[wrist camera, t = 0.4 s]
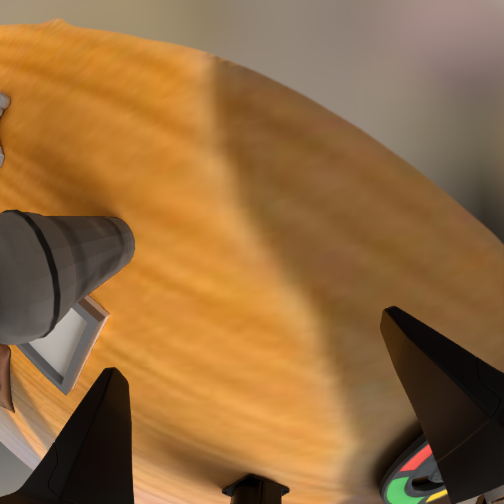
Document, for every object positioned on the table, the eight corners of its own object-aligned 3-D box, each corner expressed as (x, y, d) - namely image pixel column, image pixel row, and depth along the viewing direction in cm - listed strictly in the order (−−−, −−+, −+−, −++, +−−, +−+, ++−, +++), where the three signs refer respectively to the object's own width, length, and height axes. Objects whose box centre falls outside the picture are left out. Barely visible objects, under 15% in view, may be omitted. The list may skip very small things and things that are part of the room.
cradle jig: (74, 386, 27) (66, 395, 25) (6, 315, 26) (-5, 320, 24) (109, 314, 24) (99, 322, 22) (27, 232, 23) (14, 235, 21)
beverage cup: (89, 286, 24) (-85, 391, 4) (75, 208, 23) (-127, 245, 3) (156, 281, 23) (-37, 441, 4) (142, 193, 22) (-112, 213, 2)
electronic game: (459, 480, 28) (468, 497, 23) (351, 501, 28) (355, 524, 24) (530, 379, 23) (546, 394, 18) (425, 390, 24) (443, 417, 19)
